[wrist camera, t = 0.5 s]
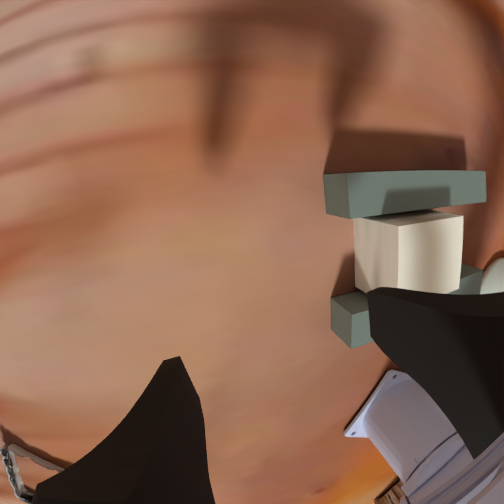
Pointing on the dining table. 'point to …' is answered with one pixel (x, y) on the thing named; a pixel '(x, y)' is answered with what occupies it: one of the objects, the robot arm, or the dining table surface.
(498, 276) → the pale green oval piece
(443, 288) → the cream block
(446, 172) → the slot holder
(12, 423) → the dining table surface
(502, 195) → the dining table surface
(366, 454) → the dining table surface
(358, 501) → the dining table surface
